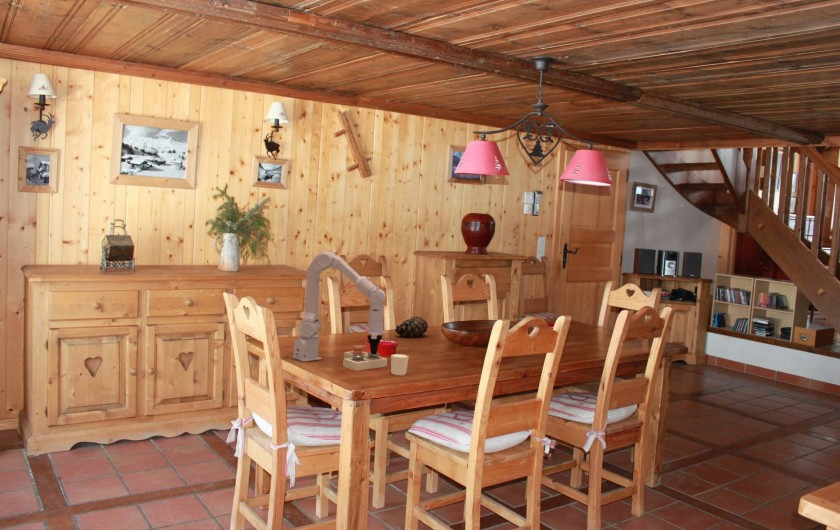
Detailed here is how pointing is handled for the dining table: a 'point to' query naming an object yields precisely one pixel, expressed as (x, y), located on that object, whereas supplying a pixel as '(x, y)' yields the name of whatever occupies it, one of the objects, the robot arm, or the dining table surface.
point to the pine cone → (412, 328)
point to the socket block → (363, 362)
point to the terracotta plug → (358, 349)
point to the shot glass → (399, 364)
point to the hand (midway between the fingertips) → (373, 353)
